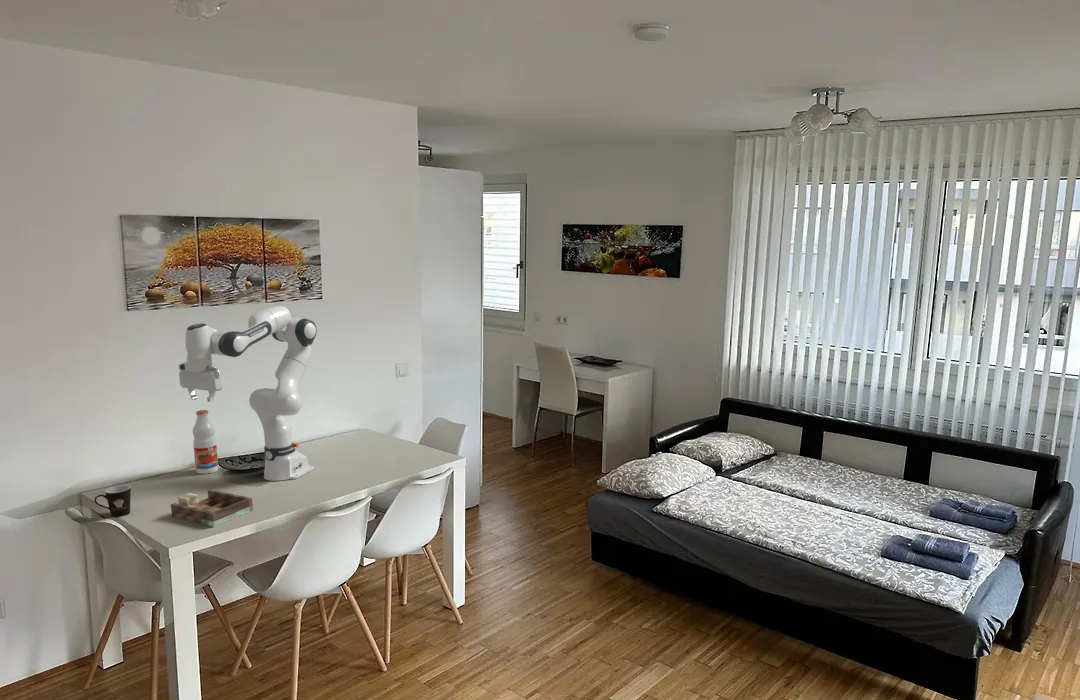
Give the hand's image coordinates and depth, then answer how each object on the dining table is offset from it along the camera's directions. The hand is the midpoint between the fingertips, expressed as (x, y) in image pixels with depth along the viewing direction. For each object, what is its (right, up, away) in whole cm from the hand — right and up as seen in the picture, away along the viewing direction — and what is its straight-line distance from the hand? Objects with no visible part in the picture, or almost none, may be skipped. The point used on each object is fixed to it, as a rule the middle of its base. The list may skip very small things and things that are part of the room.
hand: (202, 400), depth 289 cm
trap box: (+7, -43, -7) cm, 44 cm away
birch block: (-2, -41, -6) cm, 42 cm away
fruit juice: (-18, -35, +45) cm, 60 cm away
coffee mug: (-31, -44, -5) cm, 53 cm away
